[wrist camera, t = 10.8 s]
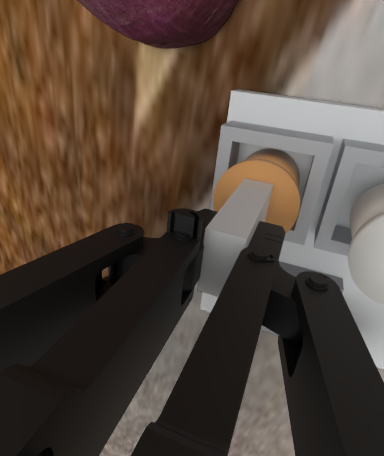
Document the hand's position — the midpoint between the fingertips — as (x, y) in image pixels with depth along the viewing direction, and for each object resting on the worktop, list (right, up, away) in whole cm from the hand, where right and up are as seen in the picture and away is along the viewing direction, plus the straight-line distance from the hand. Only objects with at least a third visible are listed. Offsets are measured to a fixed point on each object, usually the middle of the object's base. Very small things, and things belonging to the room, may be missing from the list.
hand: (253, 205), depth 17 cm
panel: (+6, -1, +8) cm, 10 cm away
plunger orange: (+2, +2, +4) cm, 5 cm away
